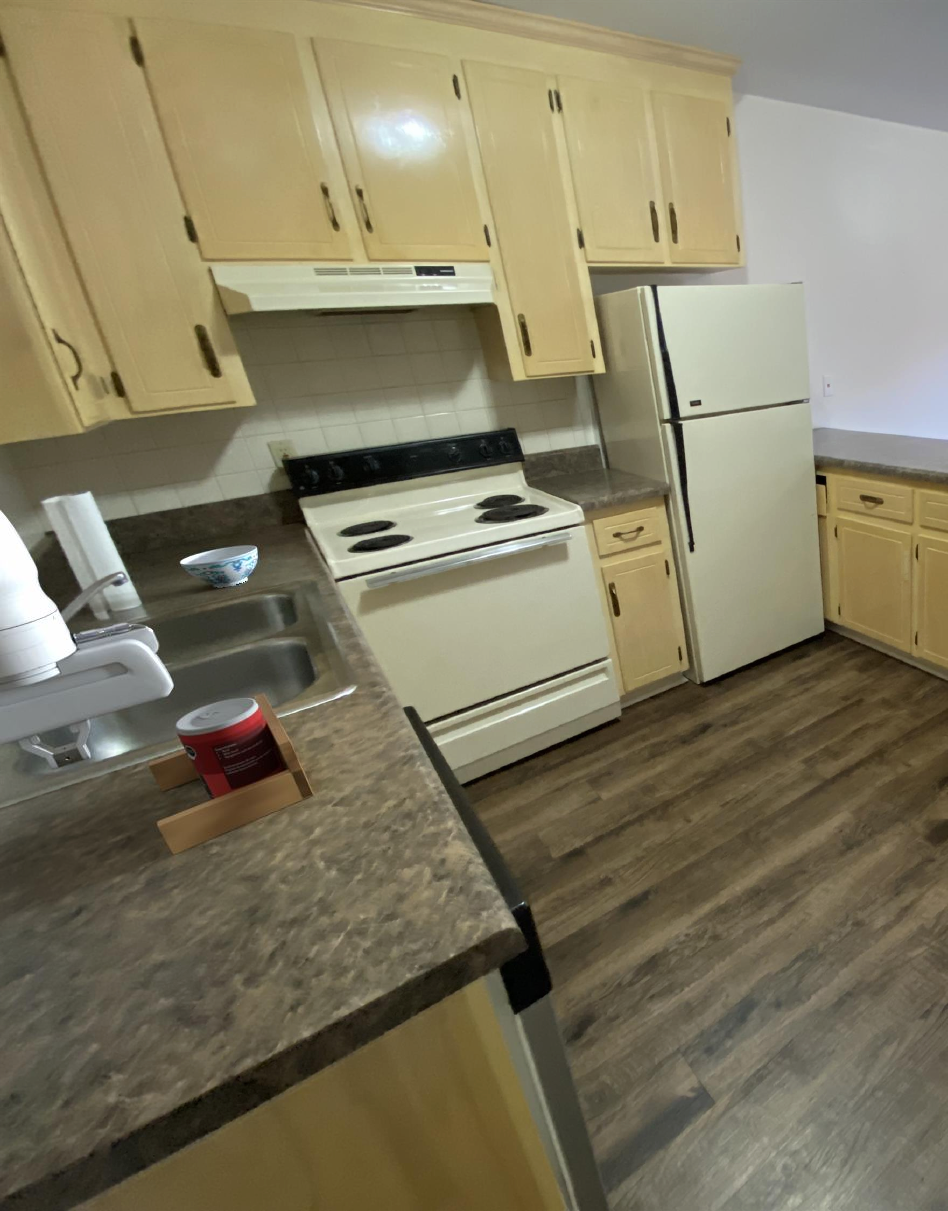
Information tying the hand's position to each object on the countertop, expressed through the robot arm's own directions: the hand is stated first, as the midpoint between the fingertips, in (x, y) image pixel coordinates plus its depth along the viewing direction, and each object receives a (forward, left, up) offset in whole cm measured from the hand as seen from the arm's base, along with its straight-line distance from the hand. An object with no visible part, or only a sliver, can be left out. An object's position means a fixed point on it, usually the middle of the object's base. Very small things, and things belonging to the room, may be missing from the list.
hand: (72, 762), depth 72 cm
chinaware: (+23, +115, -11) cm, 118 cm away
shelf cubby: (+11, 0, -11) cm, 15 cm away
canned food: (+12, -1, -11) cm, 16 cm away
